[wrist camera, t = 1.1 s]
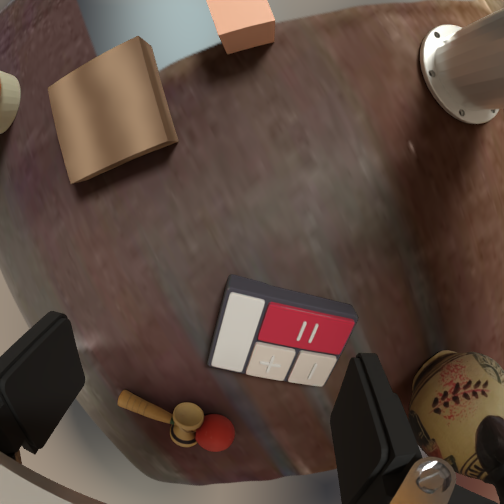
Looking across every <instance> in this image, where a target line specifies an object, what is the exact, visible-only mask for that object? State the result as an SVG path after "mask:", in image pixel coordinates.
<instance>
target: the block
mask: <svg viewBox="0 0 504 504" xmlns="http://www.w3.org/2000/svg"><path fill="white" fill-rule="evenodd" d="M206 1H207V3H208V6H209V9H210V12H211V15H212V18H213V21H214V23H215V27H216V29H217V32H218V35H219V37H220V40H221V42H222V44H223V46H224V48H225V51H226V53H227V55H228V54H231V53H235V52H238V51H241V50H245V49H249V48H252V47H256V46H260V45H264V44H268V43H273V42H274V36H275V19H274V16H273V14H272V11H271V9H270V6H269V4H268V2H267V0H206Z"/></svg>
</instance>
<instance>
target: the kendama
mask: <svg viewBox="0 0 504 504" xmlns="http://www.w3.org/2000/svg"><path fill="white" fill-rule="evenodd" d="M118 406H120V407H123V408H125V409H128V410H131V411H133V412H136V413H139V414H141V415H144V416H146V417H149V418H152V419H154V420H158V421H161V422H165V423H169V424H172V425H171V427H170V436H171V439H172V440H173V442H174V443H176V444H177V445H179V446H182V447H191V446H194V445H195V444H197V443H198V444H199V445H200V446H201V447H202V448H204V449H206V450H208V451H212V452H218V451H222V450H225V449H227V448H228V447H229V446H230V445H231V444H232V442H233V440H234V437H235V429H234V426H233V424H232V423H231V421H230V420H229V419H228V418H226V417H224V416H222V415H219V414H209V415H206V416H204V413H203V411H202V409H201V408H200V407H199V406H197V405H196V404H194V403H190V402H184V403H180V404H178V405H177V406H176V407H175V409H174V411H173V414H171V413H169V412H167V411H166V410H164V409H162V408H160V407H158V406H156V405H154V404H152V403H149V402H148V401H146V400H144V399H142V398H140V397H138V396H136V395H134V394H133V393H131V392H129V391H127V390H123V391H122V392H121V394H120V396H119V398H118Z"/></svg>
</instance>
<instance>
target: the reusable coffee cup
mask: <svg viewBox="0 0 504 504" xmlns="http://www.w3.org/2000/svg"><path fill="white" fill-rule="evenodd" d="M19 103H20V85H19V82H18V80H17V79H16V78H15V77H14V76H12V75H10V74H7V73H5V72H2V71H0V134H1V133H3V132H5V131H6V130H7V129H8V128H9V127H10V125H11V124H12V122H13V120H14V118H15V116H16V114H17V111H18V108H19Z"/></svg>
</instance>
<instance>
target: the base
mask: <svg viewBox="0 0 504 504" xmlns="http://www.w3.org/2000/svg"><path fill="white" fill-rule="evenodd" d="M158 71H159V70H158V67H157V63H156V60H155V56H154V52H153V49H152V46H151V45H149V44H148V43H147V42H146V41H144V40H143V39H142V38H140V37H139V36H137V37H135V38H133V39H130V40H128V41H126V42H124V43H122V44H120V45H118V46H116V47H114V48H112V49H111V50H109V51H107V52H105V53H103V54H101V55H100V56H98V57H96V58H94V59H92V60H91V61H89V62H87V63H86V64H84V65H82V66H81V67H79V68H77V69H76V70H74V71H73V72H71V73H69V74H68V75H66V76H65V77H63V78H62V79H60V80H59V81H57V82H56V83H54V84H53V85H51V86H50V87H48V92H49V98H50V103H51V108H52V113H53V118H54V122H55V127H56V131H57V135H58V139H59V143H60V147H61V151H62V155H63V159H64V162H65V166H66V169H67V173H68V176H69V180H70V183H71V184H74V183H78V182H82V181H86V180H89V179H91V178H93V177H95V176H98V175H100V174H102V173H104V172H106V171H108V170H111V169H113V168H115V167H117V166H120V165H122V164H124V163H126V162H129V161H131V160H134V159H136V158H138V157H141V156H143V155H146V154H148V153H150V152H153V151H156V150H158V149H161V148H163V147H166V146H168V145H171V144H174V143H176V142H179V141H178V138H177V135H176V131H175V128H174V125H173V121H172V118H171V115H170V111H169V108H168V105H167V101H166V98H165V94H164V91H163V88H162V84H161V81H160V77H159V74H158Z"/></svg>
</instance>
